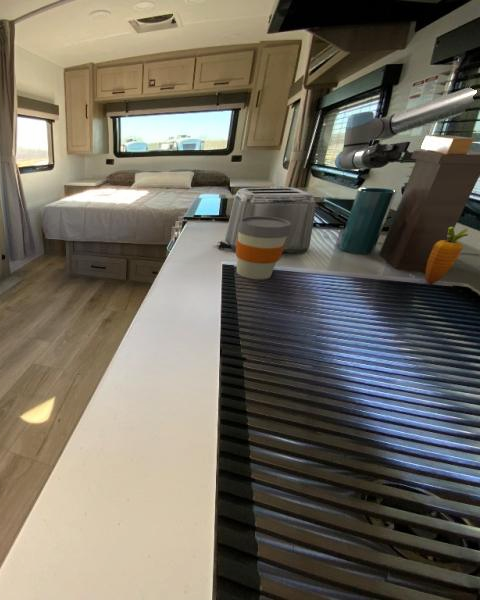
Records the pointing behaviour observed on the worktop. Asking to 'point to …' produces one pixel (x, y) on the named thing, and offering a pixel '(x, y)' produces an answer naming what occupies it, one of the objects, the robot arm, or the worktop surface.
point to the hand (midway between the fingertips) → (430, 150)
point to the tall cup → (366, 220)
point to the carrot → (443, 256)
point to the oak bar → (447, 144)
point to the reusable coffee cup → (260, 245)
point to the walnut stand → (429, 206)
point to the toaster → (275, 214)
